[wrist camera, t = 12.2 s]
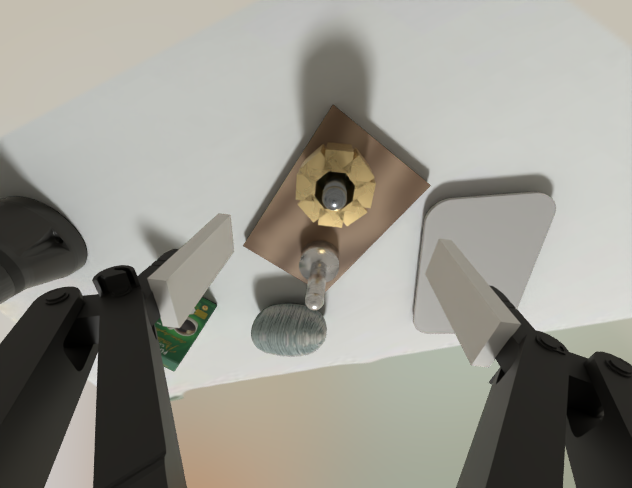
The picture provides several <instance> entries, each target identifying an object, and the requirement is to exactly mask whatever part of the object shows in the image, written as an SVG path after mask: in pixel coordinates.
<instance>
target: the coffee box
mask: <svg viewBox="0 0 632 488" xmlns="http://www.w3.org/2000/svg"><path fill="white" fill-rule="evenodd" d="M216 307H217V305H216V304H214V303H212V302H211V301H210V300H207V299H205V298H203V297H202V298H201V299H200V300H199V302H198V303H197V305H196V306H195V307H194V309H193V310H192V312H191V313H190V314H189V316H188V317H187V319H186V320H185V321H184V323H183V324H182V326H181V327H180V328H174V327H167V326H163V324H162V321H161V318H159V319H158V320H157V321H156V323H155V327H156V330H157V336H158V341H159V346H160V351H161V356H162V362H163V366H164V367H166V368H168V369H170V370H172V371H175V370H176V368H177V367H178V365H179V364H180V362H181V361H182V359H183V358H184V356H185V355H186V353H187V352H188V350H189V349H190V347H191V346H192V344H193V343H194V341H195V340H196V338H197V337H198V335H199V333H200V332H201V330H202V329H203V327H204V326H205V324H206V322H207V321H208V319H209V318H210V316H211V315H212V313H213V311H214V310H215V308H216Z"/></svg>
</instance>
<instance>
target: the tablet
mask: <svg viewBox="0 0 632 488" xmlns="http://www.w3.org/2000/svg"><path fill="white" fill-rule="evenodd" d="M555 212H556V204H555V202H554V200H553V199H552V198H551V197H550V196H548V195H546V194H544V193H541V192H522V193H509V194H496V195H484V196H471V197H458V198H448V199H444V200H442V201H439V202H438V203H436V204H435V205H433V206H432V207H431V208H430V209H429V211H428V212H427V214H426V216H425V219H424V225H423V234H422V243H421V252H420V260H419V269H418V278H417V287H416V296H415V305H414V313H413V323H414V326H415V328H416V329H417V330H418V331H420V332H423V333H427V334H455V332H454V330H453V328H452V326H451V324H450V322H449V320H448V318H447V317H446V315H445V313H444V311H443V309H442V307H441V305H440V303H439V301H438V299H437V297H436V295H435V293H434V291H433V289H432V287H431V285H430V283H429V281H428V279H427V277H426V275H425V273H426V270H427V268H428V265H429V263H430V260H431V257H432V255H433V252H434V250H435V247H436V245H437V242H438V240H439V239H447V240H452V241H453V243H454V244H455V245H456V246H457V247H458V249H459V250H460V251H461V252H462V253H463V255H464V256H465V257H466V258H467V259H468V261H469V262H470V263H471V264H472V265H473V267H474V268H475V269H476V270H477V272H478V273H479V274H480V275H481V276H482V278H483V279H484V280H485V281H486V282H487V284H488V285H489V286H494V287H495V288H497V289H498V290H499V291H501V292H502V293H503V294H504V295H505V296H506V297H507V298H508V299H509V300H510V303H512V304H513V305H514V306H515V307H516V308H515V309H517V308H518V306H519V303H520V301H521V298H522V295H523V293H524V290H525V288H526V285H527V283H528V280H529V278H530V275H531V273H532V270H533V268H534V265H535V263H536V260H537V258H538V255H539V253H540V250H541V248H542V245H543V243H544V240H545V238H546V235H547V233H548V230H549V228H550V225H551V223H552V220H553V217H554V215H555Z"/></svg>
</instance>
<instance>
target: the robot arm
mask: <svg viewBox="0 0 632 488" xmlns="http://www.w3.org/2000/svg"><path fill="white" fill-rule="evenodd" d="M233 252H234V245H233V235H232V225H231V215H228V214H217V215H216V216H215V217H214V218H213V219H212V220H211V221H210V222H209V223H208V224H206V225H205V226H204V227H203V228H202V229H201V230H200V231H199V232H198V233H197V234H196V235H194V236H193V237H192V238H191V239H190V240H189V241H188V242H187V243H186V244H185V245H183V246H182V247H181V248H180V249H173V250H170V251H168V252H166V253H164V254H163V255H162V256H161V257H160V258H158V259H157V261H155V262H154V263H153V264H152V265H151V266H149V267H148V268H147V269H146V270H144V271H143V272H142V273H141V274H140V275H139V276H137V275H136V272H135V270H134V268H133V267H131V266H125V265H121V266H114V267H111V268H108V269H105V270H103V271H101V272H99V273H98V274H97V275H96V276H94V278H93V280H92V281H93V283H94V285H95V287H96V289H97V291H98V293H99V294H97V295H86V296H82V294H81V292H80V290H79V289H78V288H76V287H62V288H57V289H54V290H51V291H49V292H47V293H45V294H43V295H41V296H40V297H38V298H37V299H36V300H35V301H34V302H33V303H32V304H31V306H30V307H29V308H28V310H27V311H26V312H25V313H24V315H23V316H22V317H21V318H20V320H19V321H18V322H17V323H16V325H15V326H14V327H13V328H12V330H11V331H10V332H9V334H8V335H7V336H6V337H5V339H4V340H3V341H2V342H1V344H0V488H44V486H45V484H46V482H47V479H48V477H49V474H50V471H51V469H52V466H53V464H54V461H55V459H56V456H57V454H58V451H59V449H60V446H61V444H62V441H63V439H64V436H65V434H66V431H67V429H68V426H69V424H70V421H71V418H72V416H73V413H74V411H75V408H76V406H77V403H78V401H79V398H80V396H81V393H82V391H83V388H84V386H85V383H86V381H87V378H88V376H89V373H90V371H91V368H92V365H93V363H94V360H95V358H96V355H97V353H98V372H97V400H96V427H95V455H94V481H93V488H187V486H186V481H185V476H184V470H183V465H182V460H181V455H180V450H179V445H178V440H177V434H176V429H175V424H174V419H173V413H172V408H171V403H170V398H169V393H168V388H167V382H166V377H165V372H164V367H163V362H162V356H161V351H160V346H159V341H158V336H157V330H156V327H155V323H156V321H157V320H158V319H159V318H161V321H162V324H163V326H167V327H174V328H180V327H181V326H182V324H183V323H184V321H185V320H186V319H187V317H188V316H189V314H190V313H191V312H192V310H193V309H194V307H195V306H196V305H197V303H198V302H199V300H200V299H201V298H202V296H203V295H204V293H205V292H206V290H207V289H208V288H209V286H210V285H211V283H212V282H213V281H214V279H215V278H216V276H217V275H218V274H219V272H220V271H221V269H222V268H223V267H224V265H225V264H226V262H227V261H228V259H229V258H230V257H231V255H232V254H233ZM86 260H87V250H86V246H85V244H84V241H83V239H82V238H81V236H80V234H79V233H78V232H77V230H76V229H75V228H74V227H73V226H72V225H71V224H70V223H69V222H68V221H67V220H66V219H65V218H64V217H63V216H62V215H60V214H59V213H58V212H56V211H55V210H53V209H52V208H50V207H48V206H46V205H45V204H43V203H40V202H38V201H35V200H33V199H29V198H25V197H17V196H14V197H8V198H4V199H1V200H0V304H1V303H3V302H4V301H6V300H8V299H9V298H11V297H13V296H14V295H16V294H18V293H19V292H21V291H23V290H25V289H27V288H30V287H33V286H37V285H40V284H43V283H47V282H50V281H53V280H56V279H59V278H63V277H66V276H68V275H70V274H72V273H74V272H75V271H77V270H78V269H80V268H81V267H83V266H84V264H85V263H86ZM425 275H426V277H427V279H428V281H429V283H430V285H431V287H432V289H433V291H434V293H435V295H436V297H437V299H438V301H439V303H440V305H441V307H442V309H443V311H444V313H445V315H446V317H447V318H448V320H449V322H450V324H451V326H452V328H453V330H454V332H455V334H456V336H457V338H458V340H459V342H460V344H461V346H462V348H463V350H464V352H465V354H466V356H467V358H468V360H469V362H470V364H471V365H472V366H480V367H488V368H489V367H490V365H491V364H492V363H493V361H494V360H495V359H496V360H497V362H498V363H499V365H500V368H499V370H498V371H497V372H496V374H495V375H494V376H493V377H492V379H491V380H490V381H489V383H490V384H492V383H493V384H492V387H491V390H490V392H489V396H488V398H487V401H486V404H485V407H484V410H483V412H482V415H481V418H480V421H479V424H478V427H477V430H476V432H475V435H474V438H473V441H472V444H471V447H470V450H469V452H468V455H467V458H466V461H465V464H464V467H463V469H462V472H461V475H460V478H459V481H458V484H457V487H456V488H563V473H564V472H563V471H564V452H565V446H566V450H567V454H568V457H569V461H570V465H571V469H572V473H573V477H574V481H575V484H576V488H632V366H631V365H630V364H629V363H627V362H626V361H624V360H622V359H621V358H618V357H616V356H614V355H612V354H608V353H605V352H595V353H594V354H593V355H592V356H591V357H590V358H589V359H588V358H585V357H582V356H579V355H576V354H573V353H570V352H569V351H568V350H567V349H566V347H565V346H564V345H563V344H562V343H561V342H559V341H558V340H557V339H555V338H554V337H552V336H550V335H548V334H546V333H543V332H541V331H536V330H535V329H534V328H533V327H532V326H531V325H530V324H529V322H528V321H527V320H526V319H525V318H524V317H523V315H522V314H521V313H520V312H519V311H518V310H517V309H515V308H516V307H515V306H514V305H513V304H512V303H510V300H509V299H508V298H507V297H506V296H505V295H504V294H503V293H502V292H501V291H499V290H498V289H497V288H495V287H494V286H489V285H488V284H487V282H486V281H485V280H484V279H483V278H482V276H481V275H480V274H479V273H478V272H477V270H476V269H475V268H474V267H473V265H472V264H471V263H470V262H469V261H468V259H467V258H466V257H465V256H464V255H463V253H462V252H461V251H460V250H459V249H458V247H457V246H456V245H455V244H454V243H453V241H452V240H447V239H439V240H438V242H437V245H436V247H435V250H434V252H433V255H432V257H431V260H430V263H429V265H428V268H427V270H426V273H425Z"/></svg>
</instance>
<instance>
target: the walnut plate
mask: <svg viewBox="0 0 632 488" xmlns="http://www.w3.org/2000/svg"><path fill="white" fill-rule="evenodd" d="M328 142H331V143H340V144H349V145H352V147H353V149H355V148H357V149H358V151H359V152H360V154H361V155H362V156H363V158H364V159H365V161H366V162H367V163H368V165H369V166H370V168H371V170H372V173H373V175H374V177H375V178H374V180H375V182H376V185H375V190H374V195H373V199H372V204H371V208H367V212H368V213H366V214H365V215H363V216H362V217H360V218H359V219H357V220H356V221H354V222H353V223H351V224H350V225H349V226H346V225H345V223H344V222H343V225H342V228H340V227H332V226H323V225H318V220H319V219H318V220H316V221H315V222H314V223H313V221H312V220H311V219H310V218H309V217H308V216H307V215H306V214H305V213H304V211H303V210H302V209H301V208H300V207H299V206H298V205H297V204H298V202H299V200H296V181H297V173H298V172H299V169H300V167H301V166H302V164H303V162H304V161H305V159H306V158H307V157H309V156H310V155H311V154H312V153H313V152H314V151H315V150H317V149H318V148H319V147H320V146H321V145H322V144H324V146H325V147H327V143H328ZM430 186H431V185H430V184H429V183H427V182H426V181H425V180H424V179H423V178H421V177H420V176H419V175H418V174H417V173H415V172H414V171H413V170H412V169H411V168H409V167H408V166H407V165H406V164H404V163H403V162H402V161H401V160H400V159H398V158H397V157H396V156H395V155H394V154H392V153H391V152H390V151H389V150H388V149H386V148H385V147H384V146H383V145H381V144H380V143H379V142H378V141H377V140H375V139H374V138H373V137H372V136H371V135H369V134H368V133H367V132H366V131H365V130H363V129H362V128H361V127H360V126H358V125H357V124H356V123H355V122H354V121H352V120H351V119H350V118H349V117H348V116H346V115H345V114H344V113H343V112H342V111H340V110H339V109H338V108H337V107H335V106H334V105H332V107H331V108H330V110H329V112H328V113H327V115H326V116H325V118H324V119H323V121H322V123H321V124H320V126H319V127H318V129H317V130H316V132H315V134H314V135H313V137H312V138H311V140H310V141H309V143H308V145H307V146H306V148H305V149H304V151H303V152H302V154H301V156H300V157H299V159H298V160H297V162H296V163H295V165H294V167H293V168H292V170H291V171H290V173H289V174H288V176H287V178H286V179H285V181H284V182H283V184H282V185H281V187H280V189H279V190H278V192H277V193H276V195H275V196H274V198H273V200H272V201H271V203H270V204H269V206H268V207H267V209H266V210H265V212H264V214H263V215H262V217H261V218H260V220H259V221H258V223H257V225H256V226H255V228H254V229H253V231H252V232H251V234H250V236H249V237H248V239H247V240H246V242H245V243H244V245H243V246H244V247H246V248H248V249H249V250H251V251H253V252H254V253H256V254H258V255H259V256H261V257H263V258H264V259H266V260H268V261H269V262H271V263H273V264H274V265H276V266H278V267H279V268H281V269H283V270H284V271H286V272H288V273H289V274H291V275H293V276H294V277H296V278H298V279H299V280H301V281H303V282H304V283H306V284H308V280H307V279H306V278H304V277H303V276H302V274H301V272H300V270H299V262H300V258H301V254H302V250H303V248H304V247H305V246H306V245H307V244H308V243H310V242H312V241H316V240H323V241H327V242H329V243H331V244H332V245H334V246H335V247H336V249H337V250H338V253H339V271H338V274H337V276H336V277H335V278H334V279H333V280H331V281H329V282H326V285H325V292H326V291H327V290H328V289H329V288H330V287H331V286H332V285H333V284H334V283H335V282H336V281H337V280H338V279H339V278H340V277H341V276H342V275H343V274H344V273H345V272H346V271H347V270H348V269H349V268H350V267H351V266H352V265H353V264H354V263H355V262H356V261H357V260H358V259H359V258H360V257H361V256H362V255H363V254H364V252H365V251H366V250H367V249H368V248H369V247H370V246H371V245H372V244H373V243H374V242H375V241H376V240H377V239H378V238H379V237H380V236H381V235H382V234H383V233H384V232H385V231H386V230H387V229H388V228H389V227H390V226H391V225H392V224H393V223H394V222H395V221H396V220H397V219H398V218H399V217H400V216H401V215H402V214H403V213H404V212H405V211H406V210H407V209H408V208H409V207H410V206H411V205H412V204H413V203H414V202H415V201H416V200H417V199H418V198H419V197H420V196H421V195H422V194H423V193H424V192H425V191H426V190H427V189H428V188H429V187H430Z"/></svg>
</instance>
